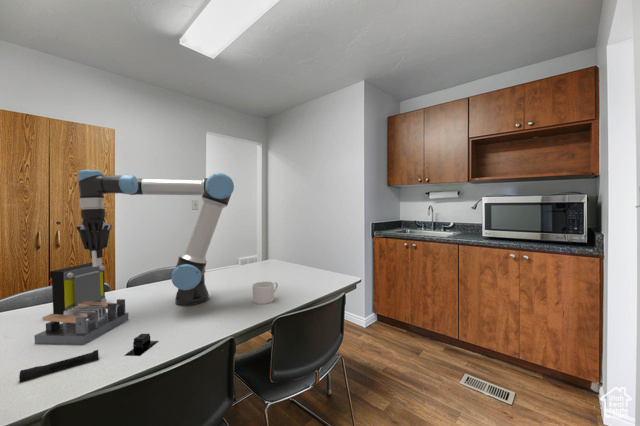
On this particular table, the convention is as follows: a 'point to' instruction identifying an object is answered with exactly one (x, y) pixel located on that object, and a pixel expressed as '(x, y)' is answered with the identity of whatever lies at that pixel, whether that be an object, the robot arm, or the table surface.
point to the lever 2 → (93, 304)
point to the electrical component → (77, 286)
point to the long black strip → (56, 366)
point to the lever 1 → (61, 318)
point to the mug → (264, 292)
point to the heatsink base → (84, 324)
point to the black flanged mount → (141, 345)
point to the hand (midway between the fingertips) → (97, 265)
